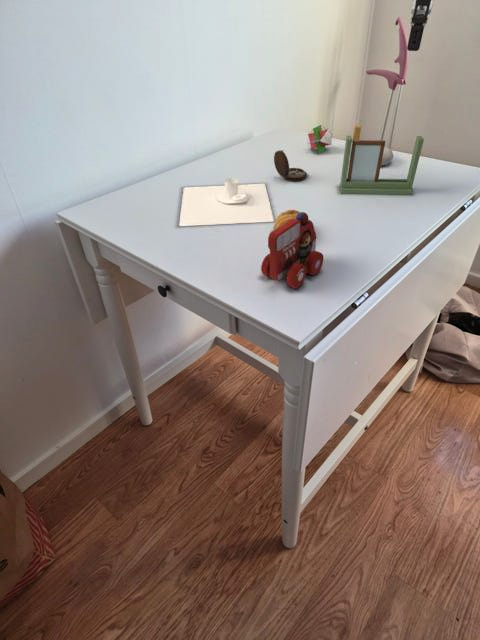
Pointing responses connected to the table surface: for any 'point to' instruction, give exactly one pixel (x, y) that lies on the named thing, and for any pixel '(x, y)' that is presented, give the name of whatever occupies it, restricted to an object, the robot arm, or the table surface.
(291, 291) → the table surface
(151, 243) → the table surface
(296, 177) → the compass
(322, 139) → the geometric puzzle
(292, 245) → the toy fire truck
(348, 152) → the window frame
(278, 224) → the pastry
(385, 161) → the donut
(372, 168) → the sash
